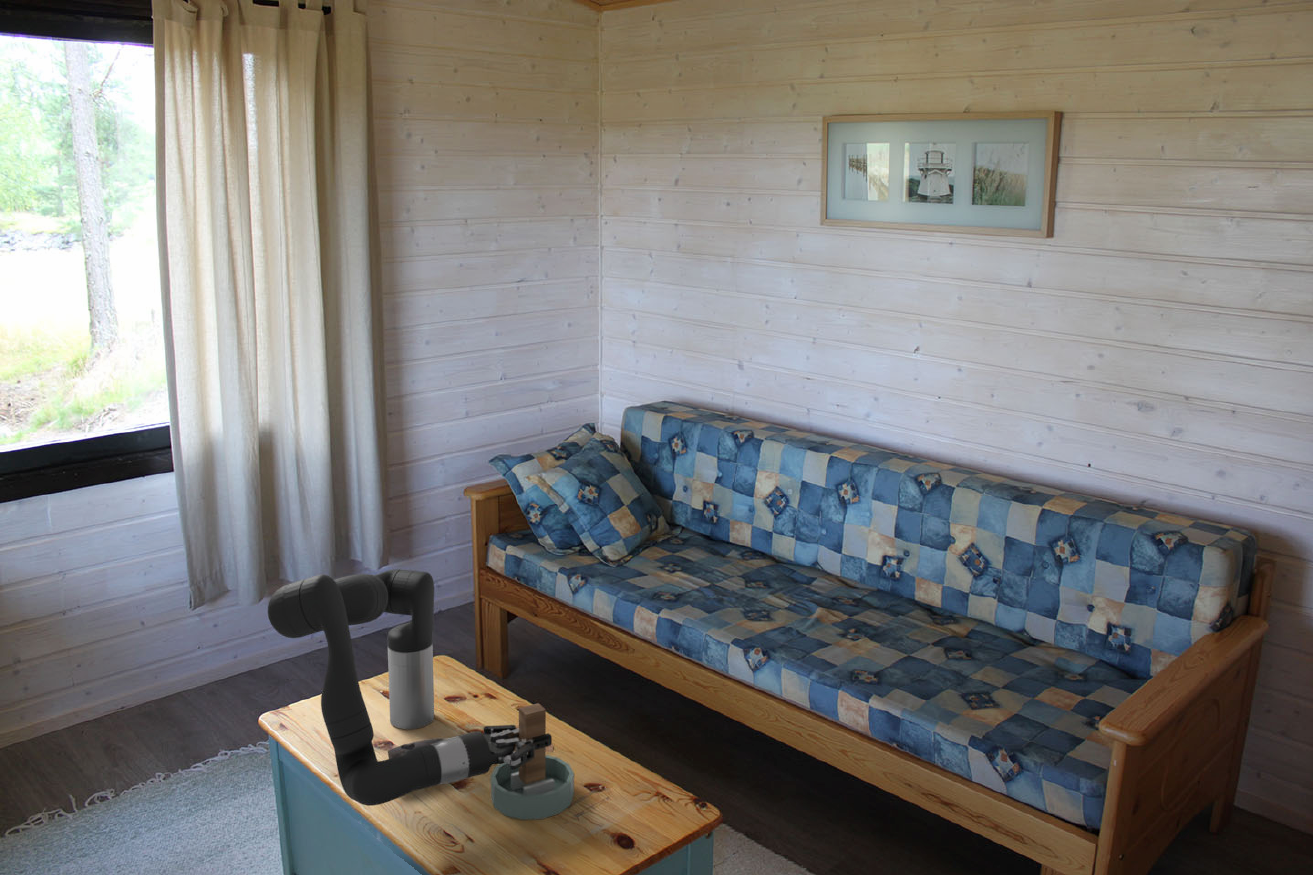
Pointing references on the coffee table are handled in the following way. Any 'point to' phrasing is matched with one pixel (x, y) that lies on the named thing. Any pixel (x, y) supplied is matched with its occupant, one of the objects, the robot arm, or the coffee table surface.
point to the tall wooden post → (529, 727)
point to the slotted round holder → (533, 791)
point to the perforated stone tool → (410, 747)
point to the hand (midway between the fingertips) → (546, 734)
